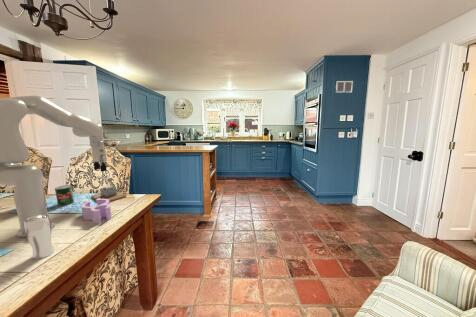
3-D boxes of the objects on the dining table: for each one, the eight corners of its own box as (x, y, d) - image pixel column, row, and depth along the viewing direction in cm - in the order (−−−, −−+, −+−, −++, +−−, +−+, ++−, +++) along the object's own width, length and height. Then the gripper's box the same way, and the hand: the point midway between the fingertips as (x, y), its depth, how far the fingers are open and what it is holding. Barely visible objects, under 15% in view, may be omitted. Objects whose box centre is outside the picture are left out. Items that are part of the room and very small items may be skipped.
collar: (116, 194, 136) (116, 187, 136) (105, 198, 131) (104, 190, 130) (112, 192, 140) (111, 186, 140) (100, 196, 135) (99, 188, 134)
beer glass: (60, 248, 81) (54, 213, 78) (44, 259, 74) (37, 222, 71) (42, 248, 81) (35, 213, 78) (25, 260, 74) (16, 222, 71)
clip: (118, 217, 107) (116, 205, 106) (90, 226, 98) (88, 213, 97) (105, 207, 120) (104, 196, 119) (80, 214, 111) (78, 203, 110)
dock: (126, 196, 137) (125, 186, 135) (103, 203, 125) (102, 192, 124) (113, 192, 147) (112, 182, 145) (91, 198, 135) (90, 187, 134)
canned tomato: (70, 200, 132) (67, 184, 130) (76, 202, 128) (73, 185, 126) (55, 204, 125) (51, 188, 123) (61, 207, 121) (58, 189, 119)
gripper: (109, 144, 126) (112, 170, 129) (98, 143, 136) (101, 167, 139) (96, 145, 120) (99, 173, 123) (85, 144, 130) (88, 169, 132)
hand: (100, 170), depth 131 cm, fingers open, 9 cm apart
